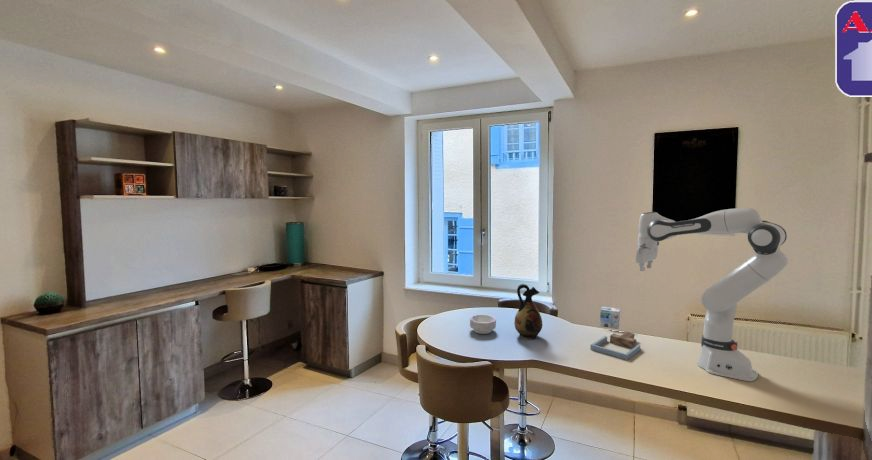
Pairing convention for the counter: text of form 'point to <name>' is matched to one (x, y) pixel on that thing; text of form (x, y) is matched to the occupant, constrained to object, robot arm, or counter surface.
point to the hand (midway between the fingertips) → (645, 269)
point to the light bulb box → (609, 317)
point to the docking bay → (596, 347)
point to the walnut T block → (624, 339)
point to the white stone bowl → (482, 323)
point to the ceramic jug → (527, 315)
